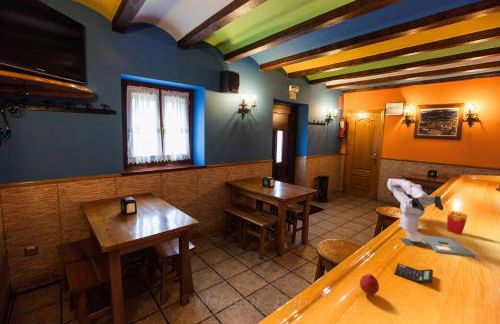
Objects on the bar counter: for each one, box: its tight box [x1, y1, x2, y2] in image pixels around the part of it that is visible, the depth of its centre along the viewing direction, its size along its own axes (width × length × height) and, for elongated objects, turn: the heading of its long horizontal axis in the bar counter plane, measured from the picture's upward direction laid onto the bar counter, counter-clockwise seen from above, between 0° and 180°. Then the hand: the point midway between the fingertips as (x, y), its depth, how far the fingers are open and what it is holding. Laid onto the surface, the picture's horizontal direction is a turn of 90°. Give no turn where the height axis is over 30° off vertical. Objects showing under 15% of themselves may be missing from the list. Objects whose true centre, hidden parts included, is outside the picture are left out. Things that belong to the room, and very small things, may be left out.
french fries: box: [446, 210, 469, 236], centre depth 134 cm, size 8×4×12 cm, turn 34°
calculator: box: [393, 263, 434, 284], centre depth 94 cm, size 9×12×3 cm
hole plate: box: [421, 234, 477, 260], centre depth 117 cm, size 16×16×2 cm
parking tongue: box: [398, 237, 429, 249], centre depth 119 cm, size 8×10×1 cm
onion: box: [359, 272, 380, 296], centre depth 82 cm, size 6×6×8 cm
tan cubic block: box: [405, 230, 423, 244], centre depth 119 cm, size 5×5×5 cm
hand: (432, 208), depth 113 cm, fingers open, 7 cm apart
